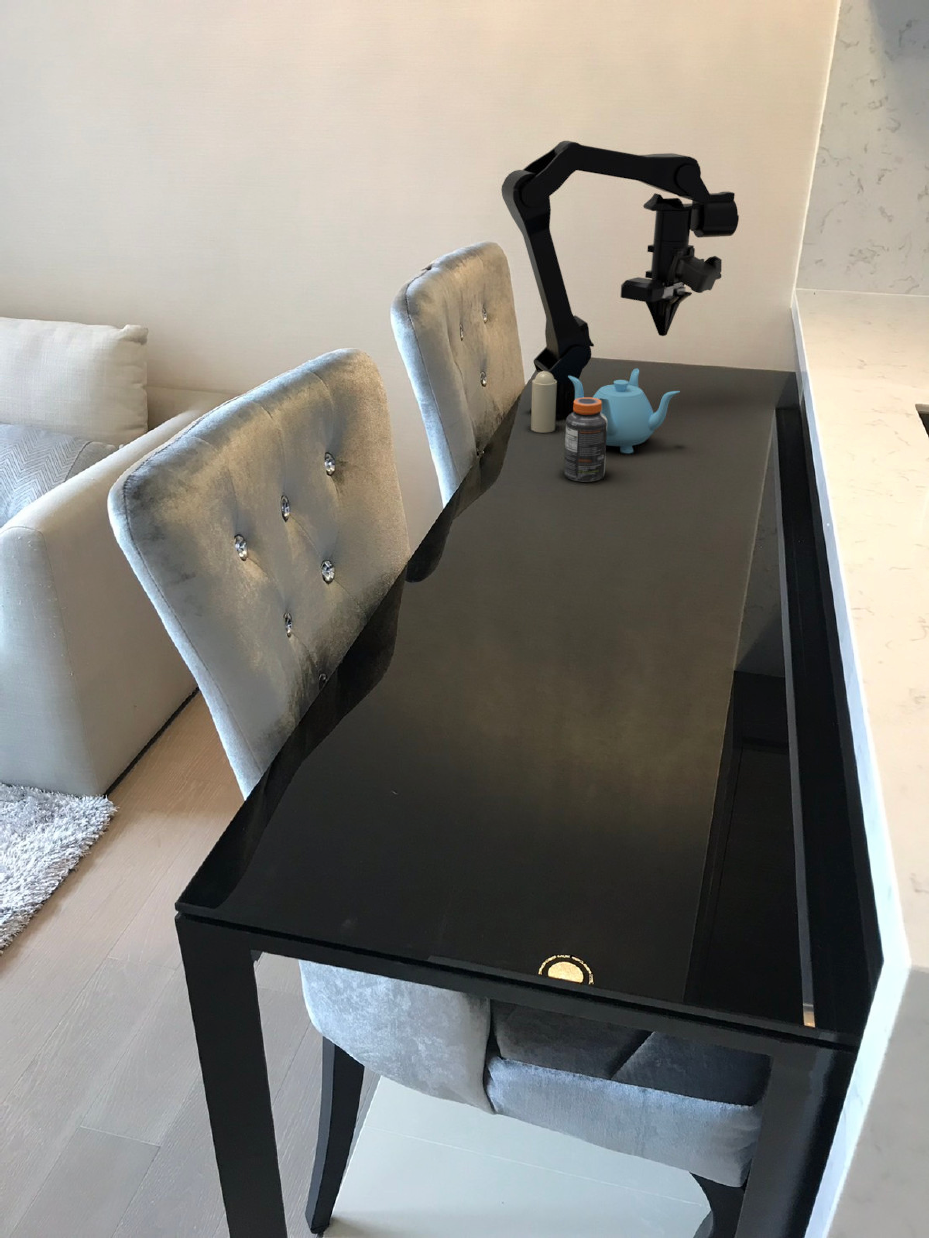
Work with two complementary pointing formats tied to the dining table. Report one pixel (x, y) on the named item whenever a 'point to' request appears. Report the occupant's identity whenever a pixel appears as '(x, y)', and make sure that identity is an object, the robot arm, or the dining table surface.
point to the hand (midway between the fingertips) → (662, 335)
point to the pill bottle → (585, 441)
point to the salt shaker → (543, 402)
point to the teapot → (627, 411)
